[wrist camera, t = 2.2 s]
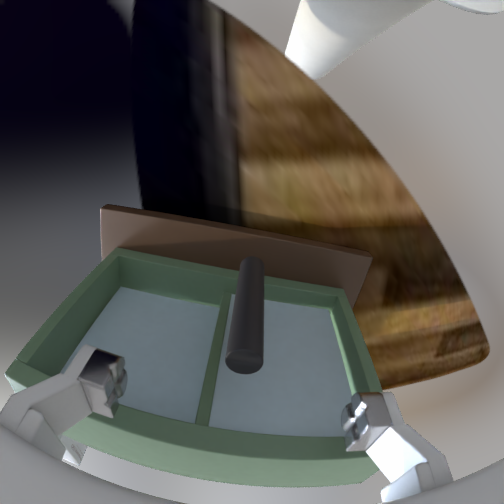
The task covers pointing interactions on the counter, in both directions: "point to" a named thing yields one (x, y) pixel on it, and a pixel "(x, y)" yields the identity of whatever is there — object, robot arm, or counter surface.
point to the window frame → (197, 344)
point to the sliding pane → (273, 365)
